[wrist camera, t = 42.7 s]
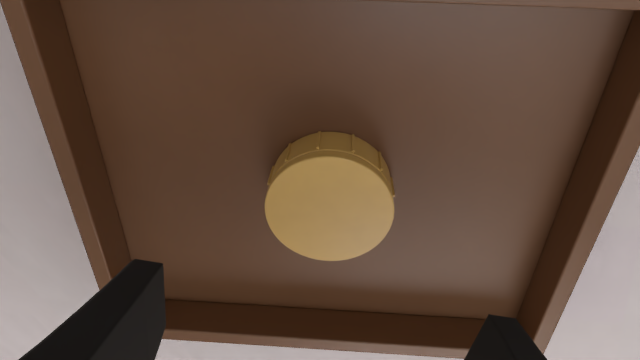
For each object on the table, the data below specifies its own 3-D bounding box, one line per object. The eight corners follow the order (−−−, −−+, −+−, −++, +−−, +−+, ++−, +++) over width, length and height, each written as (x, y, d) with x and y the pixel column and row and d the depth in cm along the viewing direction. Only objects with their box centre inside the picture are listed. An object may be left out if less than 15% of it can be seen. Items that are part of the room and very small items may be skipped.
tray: (134, 299, 19) (114, 336, 17) (33, -50, 12) (-16, -41, 10) (522, 323, 18) (539, 364, 17) (664, -29, 11) (716, -17, 10)
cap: (250, 157, 14) (240, 184, 13) (363, 111, 13) (364, 136, 12) (305, 243, 16) (300, 274, 15) (407, 209, 15) (412, 240, 14)
